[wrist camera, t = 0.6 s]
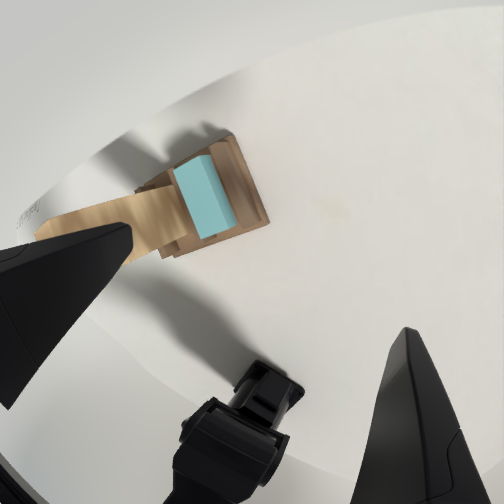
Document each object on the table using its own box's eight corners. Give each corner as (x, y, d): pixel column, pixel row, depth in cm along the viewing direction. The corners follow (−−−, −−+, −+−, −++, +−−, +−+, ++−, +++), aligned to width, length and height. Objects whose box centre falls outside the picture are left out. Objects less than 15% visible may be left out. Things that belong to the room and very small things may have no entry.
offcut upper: (237, 224, 25) (228, 228, 24) (210, 234, 26) (200, 239, 25) (209, 154, 24) (198, 155, 23) (183, 168, 25) (172, 170, 24)
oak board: (200, 228, 28) (75, 289, 16) (179, 237, 30) (58, 296, 18) (182, 182, 28) (48, 219, 16) (161, 193, 29) (33, 233, 17)
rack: (270, 222, 26) (255, 231, 24) (179, 254, 32) (161, 265, 29) (234, 135, 25) (216, 135, 23) (150, 182, 30) (129, 187, 28)
